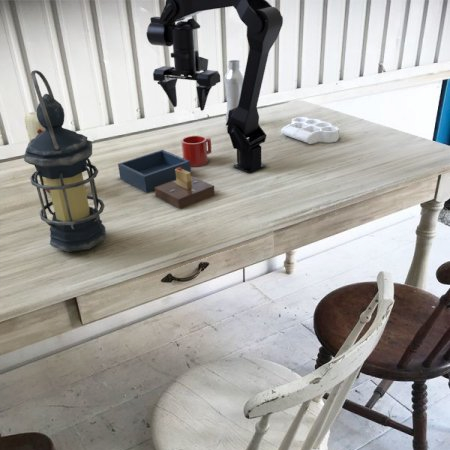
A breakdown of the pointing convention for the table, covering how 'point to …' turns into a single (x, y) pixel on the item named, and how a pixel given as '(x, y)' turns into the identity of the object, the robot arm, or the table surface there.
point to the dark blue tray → (152, 169)
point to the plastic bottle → (233, 85)
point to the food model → (34, 132)
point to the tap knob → (183, 178)
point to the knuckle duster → (311, 130)
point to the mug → (196, 150)
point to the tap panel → (184, 192)
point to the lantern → (64, 177)
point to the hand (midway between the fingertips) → (188, 108)
